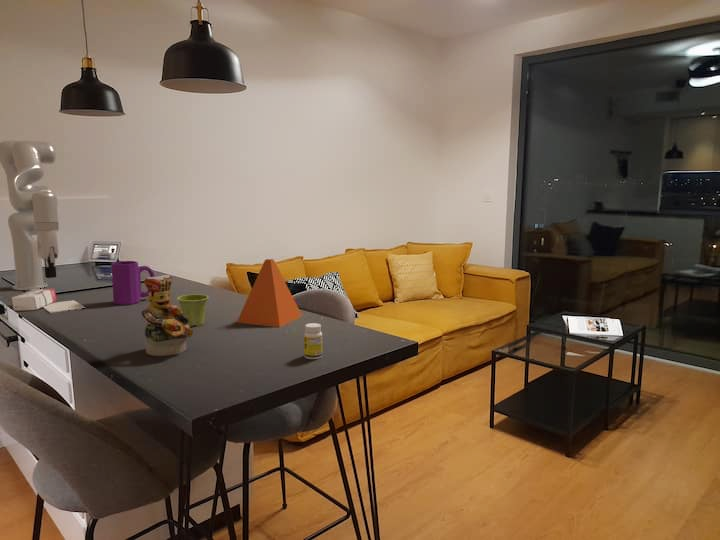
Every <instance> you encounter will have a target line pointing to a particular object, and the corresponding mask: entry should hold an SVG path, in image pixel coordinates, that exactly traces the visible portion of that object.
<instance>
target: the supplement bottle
mask: <svg viewBox="0 0 720 540" xmlns="http://www.w3.org/2000/svg"><path fill="white" fill-rule="evenodd" d="M304 330H305V331H304V334H303V356H304V358H305V359H309V360H318V359H321V358H322V357H323V333H322V325H321V323H316V322H313V323H311V322H310V323H307V324H305V326H304Z"/></svg>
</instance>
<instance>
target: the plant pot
mask: <svg viewBox="0 0 720 540" xmlns="http://www.w3.org/2000/svg"><path fill="white" fill-rule="evenodd" d="M208 299H209V296H208V295H206V294H202V293H201V294H198V293H197V294H196V293H195V294H185V295H180V296H178V297H177V299H176V300H177V301H178V304H179V306H180V307H179V308H180V310H181V311H182V313H183V314H184V315H185V316H186V317H187V318H188V319H189V321H188V323H189V324H190V327H194V326H196V327H197V326H202V325H204V323H205V315H206V307H207V306H206V305H207V303H208Z"/></svg>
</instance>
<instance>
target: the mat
mask: <svg viewBox="0 0 720 540" xmlns="http://www.w3.org/2000/svg"><path fill="white" fill-rule="evenodd" d="M42 308H43V310H46V311H47V312H48V313H49V314H53V313H61V312H62V311H63V312H69V311H68V310H70V311H76V310H75V309H77V310H82V308H85V309H86V307H85V306H84V305H82V304H81V303H79V302H78V301H76V300H73V299H72V300H66V301H65V300H64V301H58V302H56V301H55V302H52V303H50V304H48V305H46V306H43V307H42Z"/></svg>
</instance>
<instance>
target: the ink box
mask: <svg viewBox="0 0 720 540" xmlns="http://www.w3.org/2000/svg"><path fill="white" fill-rule="evenodd" d="M57 300H58V299H57V296H56V291H55V288H54V287H52V288H41V289H32V290H26V291H25V292H23V293H20V294H18V295H15V296H13V297H10V303H11V307H12V310H13V311H24V312H26V311H36V310H39V309H41V308H43V306H46V305H48V304H50V303H55V302H56V301H57Z"/></svg>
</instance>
